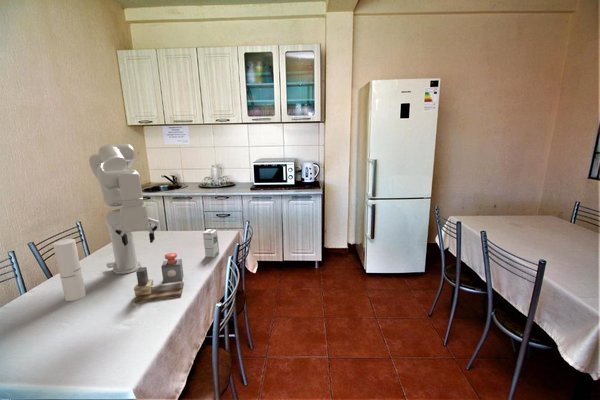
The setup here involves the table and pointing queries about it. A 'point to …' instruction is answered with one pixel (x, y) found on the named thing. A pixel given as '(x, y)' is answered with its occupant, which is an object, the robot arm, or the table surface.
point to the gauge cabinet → (172, 271)
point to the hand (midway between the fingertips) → (139, 243)
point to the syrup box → (211, 243)
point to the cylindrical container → (69, 269)
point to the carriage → (143, 282)
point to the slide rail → (162, 292)
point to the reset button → (171, 258)
